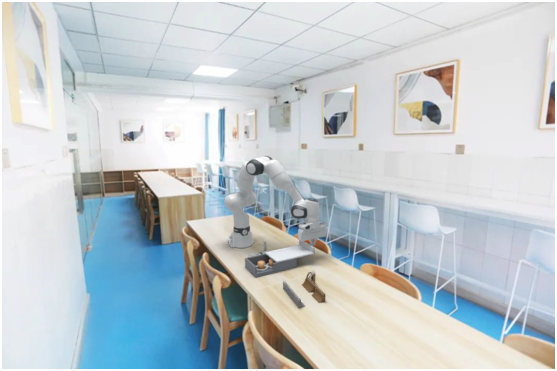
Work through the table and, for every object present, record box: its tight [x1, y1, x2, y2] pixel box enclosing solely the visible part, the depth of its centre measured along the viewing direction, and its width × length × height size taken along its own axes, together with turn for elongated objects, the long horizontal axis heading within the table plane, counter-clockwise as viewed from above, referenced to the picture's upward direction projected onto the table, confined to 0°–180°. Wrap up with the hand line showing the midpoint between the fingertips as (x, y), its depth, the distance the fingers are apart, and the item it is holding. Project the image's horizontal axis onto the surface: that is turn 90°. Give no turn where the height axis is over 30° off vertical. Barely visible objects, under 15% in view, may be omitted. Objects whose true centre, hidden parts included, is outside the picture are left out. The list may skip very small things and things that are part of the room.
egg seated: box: [269, 258, 276, 267], centre depth 168 cm, size 4×4×4 cm
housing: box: [244, 254, 298, 279], centre depth 168 cm, size 16×26×6 cm, turn 118°
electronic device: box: [247, 241, 268, 258], centre depth 185 cm, size 5×10×15 cm
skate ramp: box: [282, 271, 326, 309], centre depth 140 cm, size 29×35×8 cm
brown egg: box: [258, 261, 265, 270], centre depth 165 cm, size 4×4×4 cm
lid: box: [265, 239, 316, 263], centre depth 173 cm, size 16×26×4 cm, turn 118°
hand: (312, 245), depth 180 cm, fingers closed
